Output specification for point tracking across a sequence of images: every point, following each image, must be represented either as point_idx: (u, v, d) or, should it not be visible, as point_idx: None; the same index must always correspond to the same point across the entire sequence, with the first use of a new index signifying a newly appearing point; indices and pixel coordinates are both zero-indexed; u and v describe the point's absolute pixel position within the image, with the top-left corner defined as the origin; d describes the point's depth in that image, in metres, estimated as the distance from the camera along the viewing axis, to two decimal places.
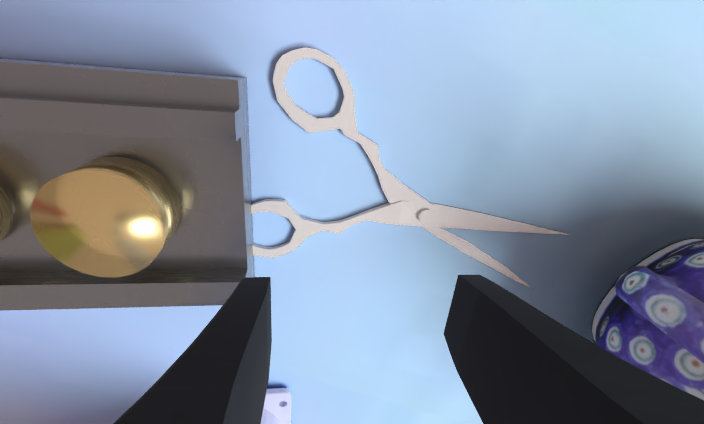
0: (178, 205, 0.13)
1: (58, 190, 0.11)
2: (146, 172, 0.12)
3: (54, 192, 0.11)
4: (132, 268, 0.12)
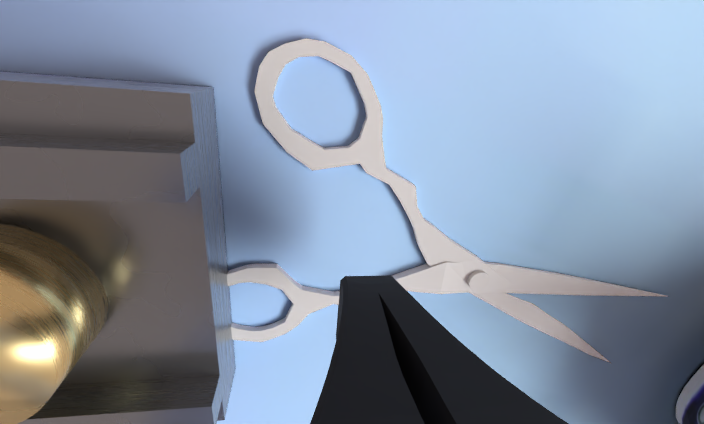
0: (100, 295, 0.08)
1: None
2: (34, 251, 0.07)
3: None
4: (9, 419, 0.07)
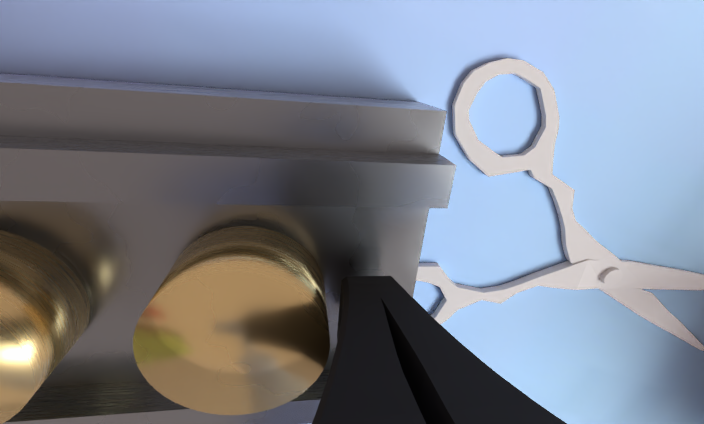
0: None
1: (183, 300, 0.06)
2: (294, 251, 0.08)
3: (176, 304, 0.06)
4: (275, 401, 0.08)
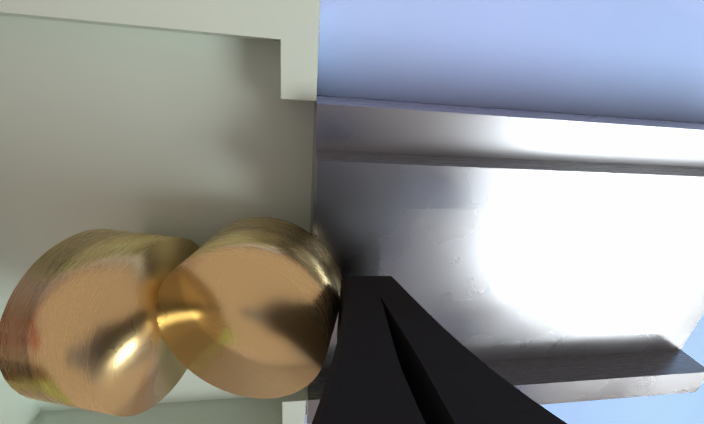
0: None
1: (195, 275, 0.07)
2: (311, 249, 0.08)
3: (190, 277, 0.07)
4: (272, 392, 0.08)
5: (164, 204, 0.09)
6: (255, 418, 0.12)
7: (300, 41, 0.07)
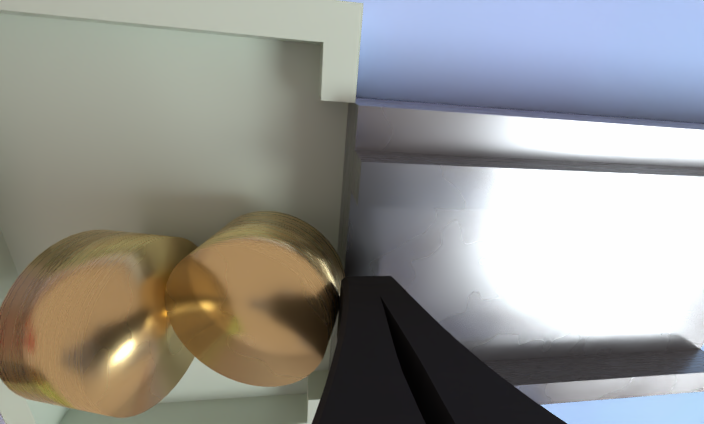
0: None
1: (204, 265, 0.07)
2: (315, 243, 0.08)
3: (198, 267, 0.07)
4: (275, 380, 0.08)
5: (197, 204, 0.09)
6: (279, 415, 0.12)
7: (342, 44, 0.07)
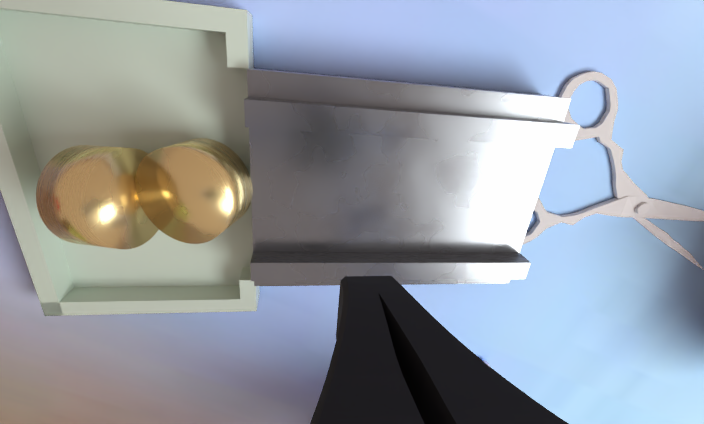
0: (250, 189, 0.14)
1: (156, 160, 0.13)
2: (227, 155, 0.14)
3: (153, 162, 0.13)
4: (202, 238, 0.14)
5: (159, 136, 0.15)
6: (221, 295, 0.18)
7: (237, 33, 0.13)
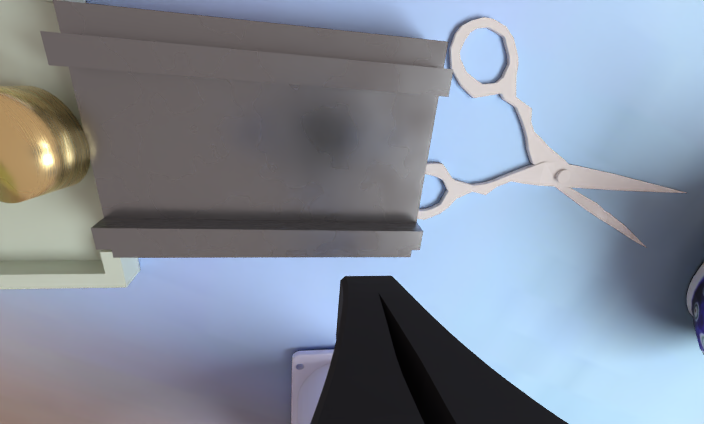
0: (83, 143, 0.13)
1: None
2: (45, 102, 0.12)
3: None
4: (18, 196, 0.12)
5: None
6: (86, 269, 0.16)
7: None
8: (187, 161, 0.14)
